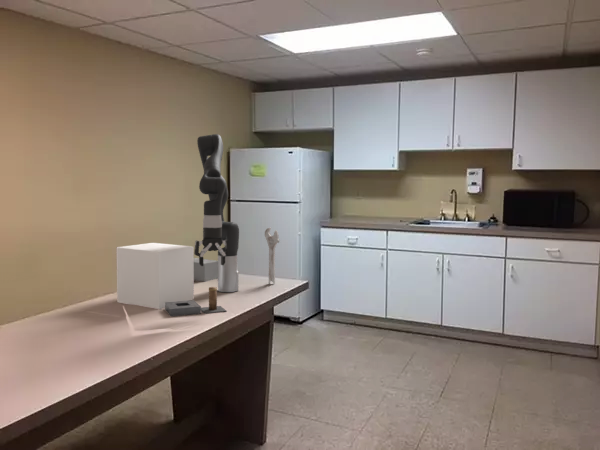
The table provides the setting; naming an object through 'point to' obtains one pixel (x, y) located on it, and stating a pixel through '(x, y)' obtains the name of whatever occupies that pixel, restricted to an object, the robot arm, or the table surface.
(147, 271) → the cube
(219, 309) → the mat
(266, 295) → the table surface
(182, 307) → the gray square frame
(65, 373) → the table surface
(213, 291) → the wooden peg
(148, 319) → the table surface
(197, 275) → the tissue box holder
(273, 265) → the wrench
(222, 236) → the robot arm
